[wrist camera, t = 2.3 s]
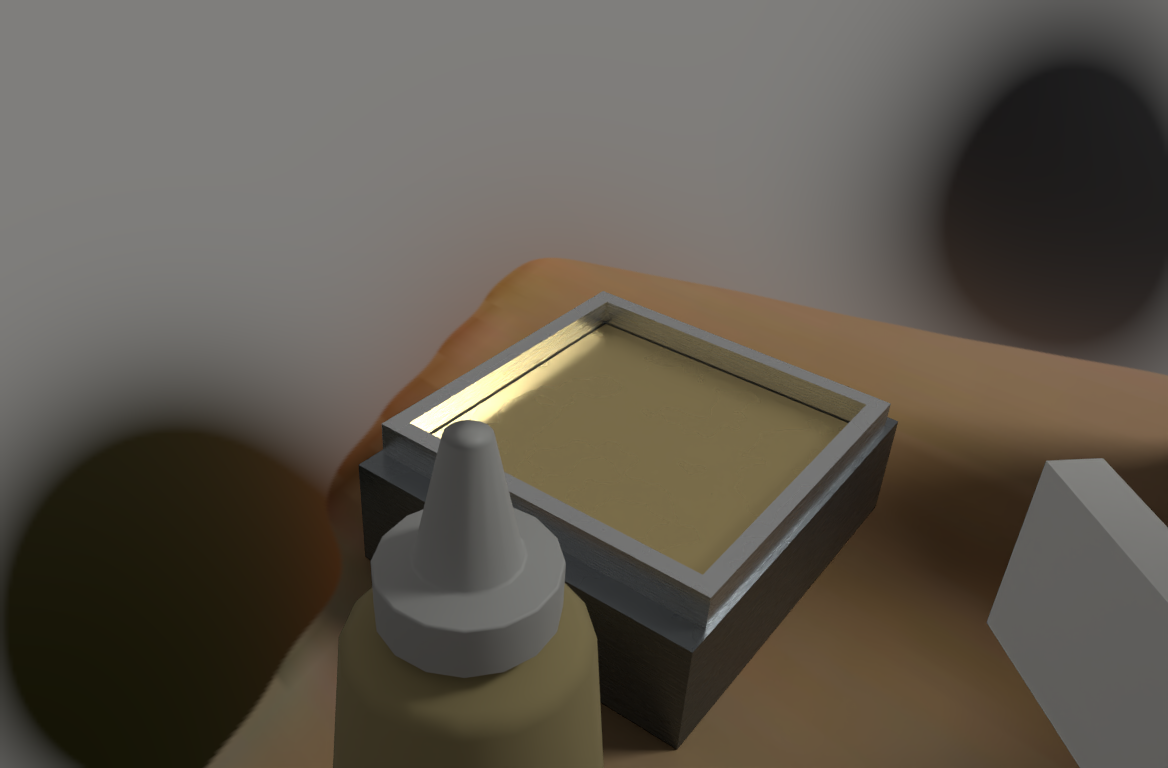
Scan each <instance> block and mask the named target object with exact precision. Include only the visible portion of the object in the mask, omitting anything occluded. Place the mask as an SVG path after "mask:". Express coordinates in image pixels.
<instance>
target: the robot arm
mask: <svg viewBox="0 0 1168 768" xmlns="http://www.w3.org/2000/svg"><path fill="white" fill-rule="evenodd" d="M987 624H988V625H989V627H990V629H991V630H992V632H993V633H994V635H995V636H996V638H997V639H998V641H999V643H1000V644H1001V646H1002V647H1003V649H1004V650H1005V652H1006V653H1007V655H1008V657H1009V658H1010V660H1011V661H1012V663H1013V664H1014V666H1015V667H1016V669H1017V671H1018V672H1019V674H1020V675H1021V677H1022V678H1023V680H1024V681H1025V683H1026V685H1027V686H1028V688H1029V689H1030V691H1031V692H1032V694H1033V695H1034V697H1035V699H1036V700H1037V702H1038V703H1039V705H1040V706H1041V708H1042V709H1043V711H1044V713H1045V714H1046V716H1047V717H1048V719H1049V720H1050V722H1051V723H1052V725H1053V727H1054V728H1055V730H1056V731H1057V733H1058V734H1059V736H1060V738H1061V739H1062V741H1063V742H1064V744H1065V745H1066V747H1067V748H1068V750H1069V752H1070V753H1071V755H1072V756H1073V758H1074V759H1075V761H1076V762H1077V764H1078V766H1079V767H1080V768H1168V527H1167V526H1166V525H1165V524H1164V523H1163V522H1162V521H1161V520H1160V519H1159V518H1158V517H1157V516H1156V514H1155V513H1154V512H1153V511H1152V510H1151V509H1150V508H1149V507H1148V506H1147V505H1146V504H1145V503H1144V502H1143V501H1142V499H1141V498H1140V497H1139V496H1138V495H1137V494H1136V493H1135V492H1134V491H1133V490H1132V489H1131V488H1130V487H1129V486H1128V484H1127V483H1126V482H1125V481H1124V480H1123V479H1122V478H1121V477H1120V476H1119V475H1118V474H1117V473H1116V472H1115V471H1114V469H1113V468H1112V467H1111V466H1110V465H1109V464H1108V463H1107V462H1106V461H1105V460H1104V459H1103V458H1096V459H1074V460H1052V461H1046V463H1045V466H1044V468H1043V471H1042V474H1041V476H1040V479H1039V482H1038V485H1037V487H1036V490H1035V493H1034V495H1033V498H1032V501H1031V504H1030V506H1029V509H1028V512H1027V514H1026V517H1025V520H1024V523H1023V525H1022V528H1021V531H1020V533H1019V536H1018V539H1017V541H1016V544H1015V547H1014V550H1013V552H1012V555H1011V558H1010V560H1009V563H1008V566H1007V569H1006V571H1005V574H1004V577H1003V579H1002V582H1001V585H1000V588H999V590H998V593H997V596H996V598H995V601H994V604H993V607H992V609H991V612H990V615H989V617H988V620H987Z"/></svg>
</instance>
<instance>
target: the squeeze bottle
mask: <svg viewBox="0 0 1168 768" xmlns="http://www.w3.org/2000/svg"><path fill="white" fill-rule="evenodd" d="M565 569H566V562H565V559H564V556H563V553H562V550H561V547H560V544H559V541H558V538H557V537H556V536H555V535H554V534H553V533H551V532H550V531H549V530H548V529H547V528H546V527H545V526H544V525H543V524H542V523H541V522H540V521H539V520H538V519H537V518H536V517H534V516H531V515H529V514H527V513H525V512H522V511H520V510H518V509H516V508H513V506H512V502H511V498H510V494H509V490H508V486H507V482H506V478H505V474H504V470H503V465H502V461H501V457H500V453H499V449H498V445H497V441H496V437H495V434H494V430H493V429H492V428H491V427H490V426H489V425H488V424H485V423H483V422H480V421H475V420H462V421H457V422H454V423H452V424H450V425H448V426H447V427H446V428H445V429H444V431H443V433H442V436H441V440H440V444H439V448H438V452H437V456H436V460H435V464H434V468H433V472H432V476H431V480H430V484H429V489H428V493H427V497H426V501H425V505H424V509H423V510H420V511H418V512H415V513H413V514H410V515H408V516H406V517H405V518H404V519H403V520H401V521H400V522H399V523H398V524H397V525H395V526H394V527H393V528H392V529H391V530H389V531H388V532H387V533H386V534H385V535H383V536H382V538H381V540H380V542H379V544H378V547H377V549H376V551H375V553H374V555H373V557H372V559H371V575H372V588H370V589H369V590H368V591H367V592H366V593H365V594H364V595H363V596H361V597H360V598H359V599H358V600H357V601H356V602H355V604H354V606H353V608H352V610H351V612H350V614H349V617H348V619H347V621H346V623H345V625H344V627H343V629H342V632H341V634H340V636H339V645H338V668H337V690H336V713H335V736H334V758H333V768H604V765H603V745H602V726H601V706H600V686H599V666H598V646H597V636H596V633H595V631H594V628H593V625H592V622H591V619H590V616H589V613H588V610H587V607H586V605H585V603H584V602H583V601H582V600H581V599H580V598H579V597H578V596H577V595H576V594H575V593H574V592H573V591H572V590H571V589H570V587H569V586H568V585H567V584H566V583H565Z"/></svg>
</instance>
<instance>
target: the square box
mask: <svg viewBox="0 0 1168 768" xmlns="http://www.w3.org/2000/svg"><path fill="white" fill-rule="evenodd" d="M889 408H890V403H888V402H885V401H883V400H880V399H877V398H875V397H872V396H870V395H867V394H865V393H862V392H860V391H857V390H854V389H852V388H849V387H847V386H844V385H842V384H839V383H837V382H834V381H831V380H829V379H826V378H824V377H821V376H819V375H816V374H814V373H811V372H808V371H806V370H803V369H801V368H798V367H796V366H793V365H791V364H788V363H785V362H783V361H780V360H778V359H775V358H773V357H770V356H768V355H765V354H762V353H760V352H757V351H755V350H752V349H750V348H747V347H745V346H742V345H739V344H737V343H734V342H732V341H729V340H727V339H724V338H722V337H719V336H716V335H714V334H711V333H709V332H706V331H704V330H701V329H698V328H696V327H693V326H691V325H688V324H686V323H683V322H681V321H678V320H675V319H673V318H670V317H668V316H665V315H663V314H660V313H658V312H655V311H652V310H650V309H647V308H645V307H642V306H640V305H637V304H635V303H632V302H629V301H627V300H624V299H622V298H619V297H617V296H614V295H612V294H609V293H606V292H604V291H603V292H601V293H599V294H598V295H596V296H594V297H593V298H591V299H589V300H588V301H586V302H584V303H583V304H581V305H579V306H578V307H576V308H574V309H573V310H571V311H569V312H568V313H566V314H564V315H563V316H561V317H559V318H558V319H556V320H554V321H553V322H551V323H549V324H548V325H546V326H544V327H543V328H541V329H539V330H538V331H536V332H534V333H533V334H531V335H529V336H527V337H526V338H524V339H522V340H521V341H519V342H517V343H516V344H514V345H512V346H511V347H509V348H507V349H506V350H504V351H502V352H501V353H499V354H497V355H496V356H494V357H492V358H491V359H489V360H487V361H486V362H484V363H482V364H481V365H479V366H477V367H476V368H474V369H472V370H471V371H469V372H467V373H466V374H464V375H462V376H461V377H459V378H457V379H456V380H454V381H452V382H451V383H449V384H447V385H446V386H444V387H442V388H441V389H439V390H437V391H436V392H434V393H432V394H431V395H429V396H427V397H426V398H424V399H422V400H421V401H419V402H417V403H416V404H414V405H412V406H411V407H409V408H407V409H406V410H404V411H402V412H401V413H399V414H397V415H396V416H394V417H392V418H391V419H389V420H387V421H386V422H384V423H382V437H383V450H382V451H380V452H378V453H377V454H375V455H374V456H372V457H370V458H369V459H367V460H366V461H364V462H362V463H361V464H359V476H360V489H361V503H362V517H363V530H364V544H365V557H367V558H368V559H370V560H371V559H372V557H373V555H374V553H375V551H376V549H377V547H378V544H379V542H380V540H381V538H382V536H383V535H385V534H386V533H387V532H388V531H389V530H391V529H392V528H393V527H394V526H395V525H397V524H398V523H399V522H400V521H401V520H403V519H404V518H405V517H406V516H408V515H410V514H413V513H415V512H418V511H420V510H423V509H424V505H425V501H426V497H427V493H428V489H429V484H430V480H431V476H432V472H433V468H434V464H435V460H436V456H437V452H438V448H439V444H440V440H441V436H442V433H443V431H444V429H445V428H446V427H447V426H448V425H450V424H452V423H454V422H457V421H462V420H475V421H480V422H483V423H485V424H488V425H489V426H490V427H491V428H492V429H493V430H494V434H495V437H496V441H497V445H498V449H499V453H500V457H501V461H502V465H503V470H504V474H505V478H506V482H507V486H508V490H509V494H510V498H511V502H512V506H513V508H516V509H518V510H520V511H522V512H525V513H527V514H529V515H531V516H534V517H536V518H537V519H538V520H539V521H540V522H541V523H542V524H543V525H544V526H545V527H546V528H547V529H548V530H549V531H550V532H551V533H553V534H554V535H555V536H556V537H557V538H558V541H559V544H560V547H561V550H562V553H563V556H564V559H565V562H566V569H565V583H566V584H567V585H568V586H569V587H570V589H571V590H572V591H573V592H574V593H575V594H576V595H577V596H578V597H579V598H580V599H581V600H582V601H583V602H584V603H585V605H586V607H587V610H588V613H589V616H590V619H591V622H592V625H593V628H594V631H595V633H596V636H597V646H598V666H599V686H600V702H601V703H603V704H604V705H606V706H608V707H609V708H611V709H613V710H614V711H616V712H617V713H619V714H621V715H622V716H624V717H625V718H627V719H629V720H630V721H632V722H634V723H635V724H637V725H638V726H640V727H642V728H643V729H645V730H646V731H648V732H650V733H651V734H653V735H655V736H656V737H658V738H659V739H661V740H663V741H664V742H666V743H667V744H669V745H671V746H672V747H674V748H676V749H678V748H679V746H680V745H681V744H682V743H683V741H684V740H685V739H686V738H687V737H688V735H689V734H690V733H691V732H692V730H693V729H694V728H695V727H696V726H697V724H698V723H699V722H700V721H701V719H702V718H703V717H704V716H705V715H706V713H707V712H708V711H709V710H710V708H711V707H712V706H713V705H714V704H715V702H716V701H717V700H718V699H719V697H720V696H721V695H722V694H723V693H724V691H725V690H726V689H727V688H728V686H729V685H730V684H731V683H732V682H733V680H734V679H735V678H736V677H737V675H738V674H739V673H740V672H741V671H742V669H743V668H744V667H745V666H746V664H747V663H748V662H749V661H750V660H751V658H752V657H753V656H754V655H755V653H756V652H757V651H758V650H759V649H760V647H761V646H762V645H763V644H764V642H765V641H766V640H767V639H768V637H769V636H770V635H771V634H772V633H773V631H774V630H775V629H776V628H777V626H778V625H779V624H780V623H781V622H782V620H783V619H784V618H785V617H786V615H787V614H788V613H789V612H790V611H791V609H792V608H793V607H794V606H795V604H796V603H797V602H798V601H799V600H800V598H801V597H802V596H803V595H804V593H805V592H806V591H807V590H808V589H809V587H810V586H811V585H812V584H813V582H814V581H815V580H816V579H817V578H818V576H819V575H820V574H821V573H822V571H823V570H824V569H825V568H826V567H827V565H828V564H829V563H830V562H831V560H832V559H833V558H834V557H835V556H836V554H837V553H838V552H839V551H840V549H841V548H842V547H843V546H844V545H845V543H846V542H847V541H848V540H849V538H850V537H851V536H852V535H853V534H854V532H855V531H856V530H857V529H858V527H859V526H860V525H861V524H862V523H863V521H864V520H865V519H866V518H867V516H868V515H869V514H870V513H871V512H872V510H873V509H874V508H875V506H876V503H877V499H878V495H879V491H880V488H881V484H882V480H883V476H884V473H885V469H886V465H887V461H888V457H889V454H890V450H891V446H892V442H893V439H894V435H895V431H896V427H897V424H898V421H896V420H893V419H891V418H888V417H887V416H888V412H889Z"/></svg>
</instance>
